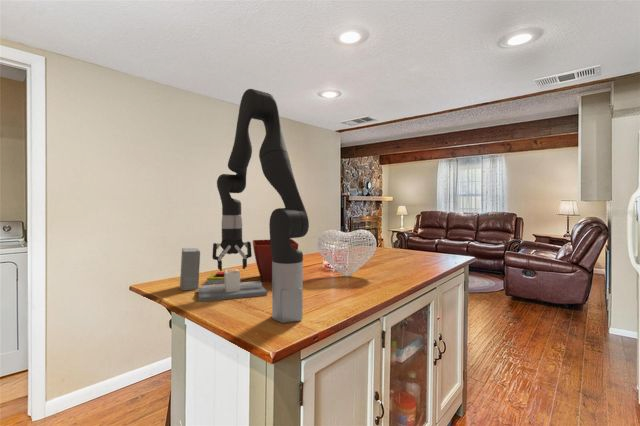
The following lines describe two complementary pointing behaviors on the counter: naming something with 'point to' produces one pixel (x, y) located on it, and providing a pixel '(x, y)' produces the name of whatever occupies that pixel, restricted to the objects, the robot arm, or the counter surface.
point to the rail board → (231, 294)
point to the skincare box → (190, 269)
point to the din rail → (223, 287)
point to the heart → (368, 256)
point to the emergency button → (216, 279)
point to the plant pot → (266, 257)
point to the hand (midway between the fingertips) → (232, 269)
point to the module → (232, 280)
